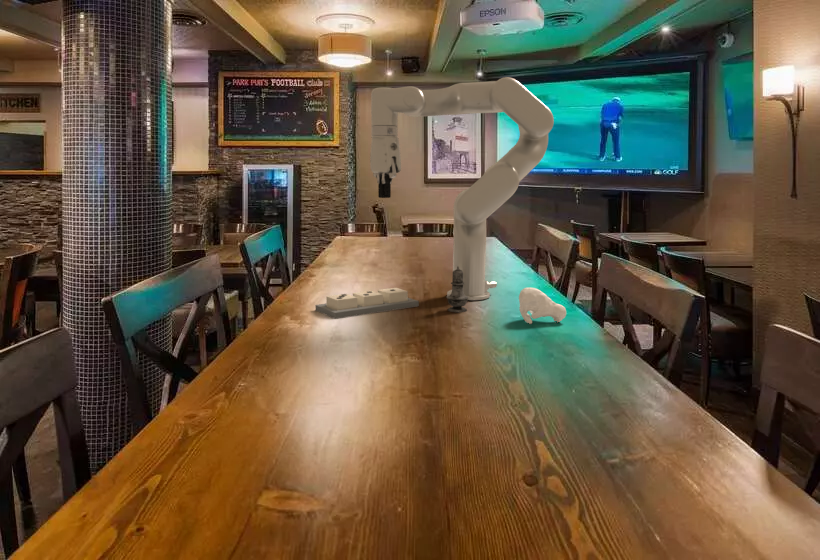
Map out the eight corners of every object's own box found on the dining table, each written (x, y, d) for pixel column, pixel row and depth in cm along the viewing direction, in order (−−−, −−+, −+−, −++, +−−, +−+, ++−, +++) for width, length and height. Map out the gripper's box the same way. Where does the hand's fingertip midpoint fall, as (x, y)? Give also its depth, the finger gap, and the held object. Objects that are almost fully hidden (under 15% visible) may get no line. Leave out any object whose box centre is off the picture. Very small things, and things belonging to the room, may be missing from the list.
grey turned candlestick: (466, 313, 163) (467, 268, 161) (444, 311, 164) (445, 267, 162) (469, 308, 169) (470, 264, 167) (447, 307, 170) (448, 264, 168)
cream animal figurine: (519, 284, 157) (567, 290, 156) (515, 316, 158) (562, 323, 157) (521, 289, 151) (570, 295, 149) (516, 322, 152) (565, 329, 151)
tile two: (371, 304, 172) (371, 290, 171) (383, 308, 167) (383, 293, 167) (352, 307, 169) (352, 292, 168) (364, 311, 164) (363, 296, 163)
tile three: (346, 308, 168) (346, 293, 167) (357, 312, 163) (357, 296, 162) (326, 310, 164) (326, 295, 164) (337, 315, 159) (337, 299, 159)
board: (315, 310, 165) (315, 304, 165) (396, 299, 180) (396, 294, 180) (335, 318, 156) (334, 312, 156) (418, 306, 171) (418, 300, 171)
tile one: (395, 301, 177) (395, 286, 176) (407, 305, 172) (407, 290, 171) (377, 303, 173) (377, 289, 173) (389, 307, 168) (389, 292, 168)
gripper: (410, 132, 173) (409, 198, 176) (381, 134, 185) (381, 196, 188) (387, 131, 168) (387, 199, 172) (359, 133, 181) (360, 196, 184)
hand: (384, 197), depth 180 cm, fingers closed
